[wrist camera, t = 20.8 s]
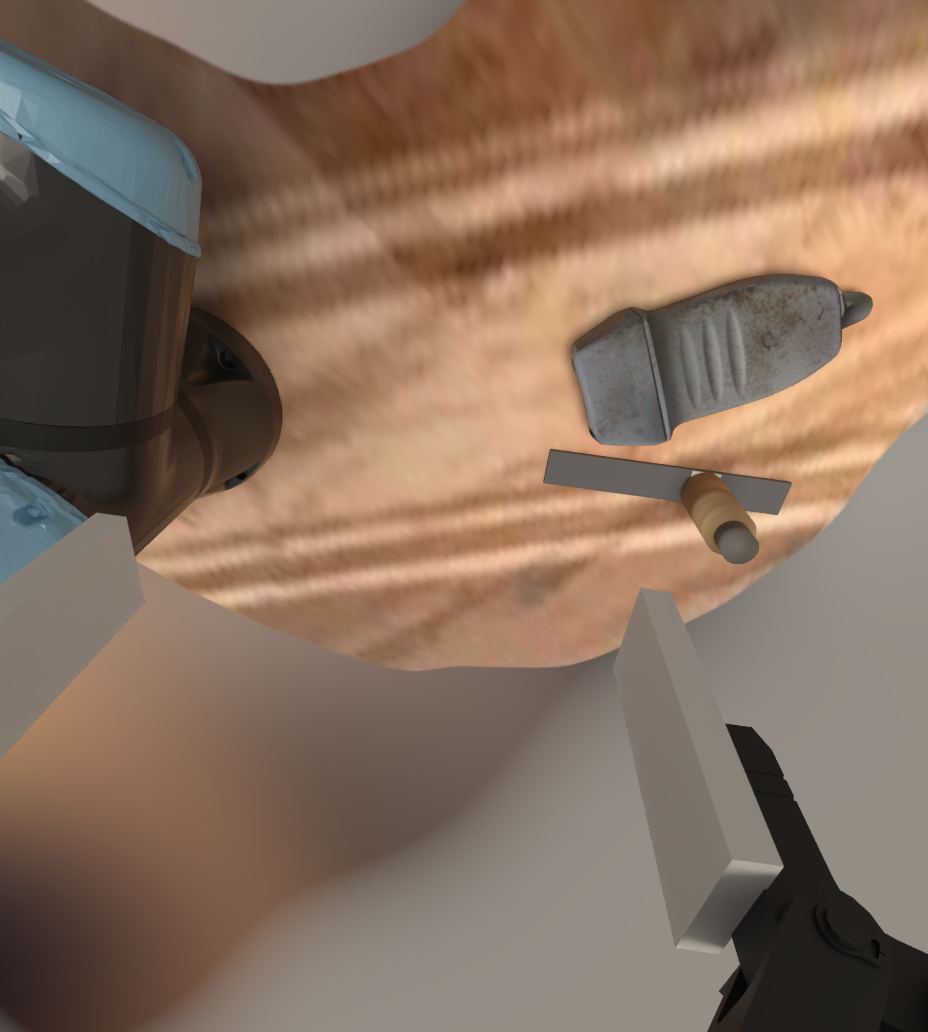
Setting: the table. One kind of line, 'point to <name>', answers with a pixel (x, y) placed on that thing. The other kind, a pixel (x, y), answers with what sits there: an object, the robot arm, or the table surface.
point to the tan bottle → (720, 518)
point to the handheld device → (708, 353)
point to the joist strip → (656, 480)
